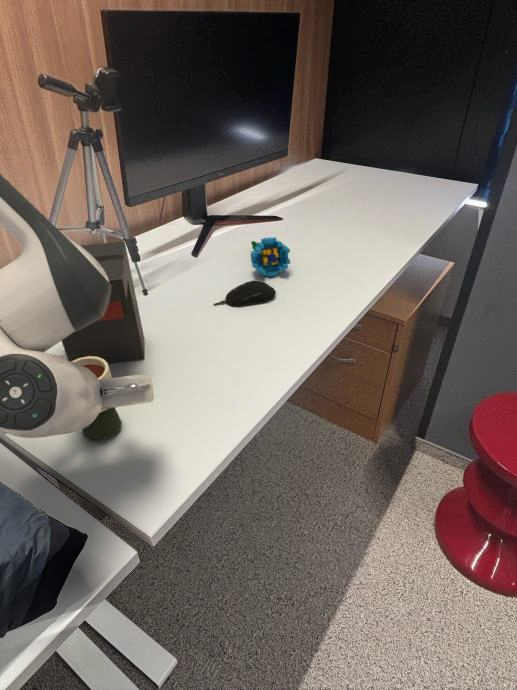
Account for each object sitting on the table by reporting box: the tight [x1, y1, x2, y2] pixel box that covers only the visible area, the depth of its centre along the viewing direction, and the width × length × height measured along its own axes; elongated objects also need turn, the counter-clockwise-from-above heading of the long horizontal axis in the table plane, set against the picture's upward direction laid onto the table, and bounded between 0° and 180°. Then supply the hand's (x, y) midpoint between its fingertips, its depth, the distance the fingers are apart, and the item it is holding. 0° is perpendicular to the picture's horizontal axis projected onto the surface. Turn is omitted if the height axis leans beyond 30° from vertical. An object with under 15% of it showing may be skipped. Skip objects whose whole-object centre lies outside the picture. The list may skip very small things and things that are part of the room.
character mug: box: [72, 356, 122, 442], centre depth 76 cm, size 11×7×13 cm, turn 6°
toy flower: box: [250, 236, 291, 277], centre depth 123 cm, size 9×9×18 cm
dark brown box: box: [61, 240, 146, 365], centre depth 87 cm, size 14×14×22 cm
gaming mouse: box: [213, 280, 277, 307], centre depth 110 cm, size 6×15×4 cm, turn 108°
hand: (89, 400), depth 73 cm, fingers open, 8 cm apart
